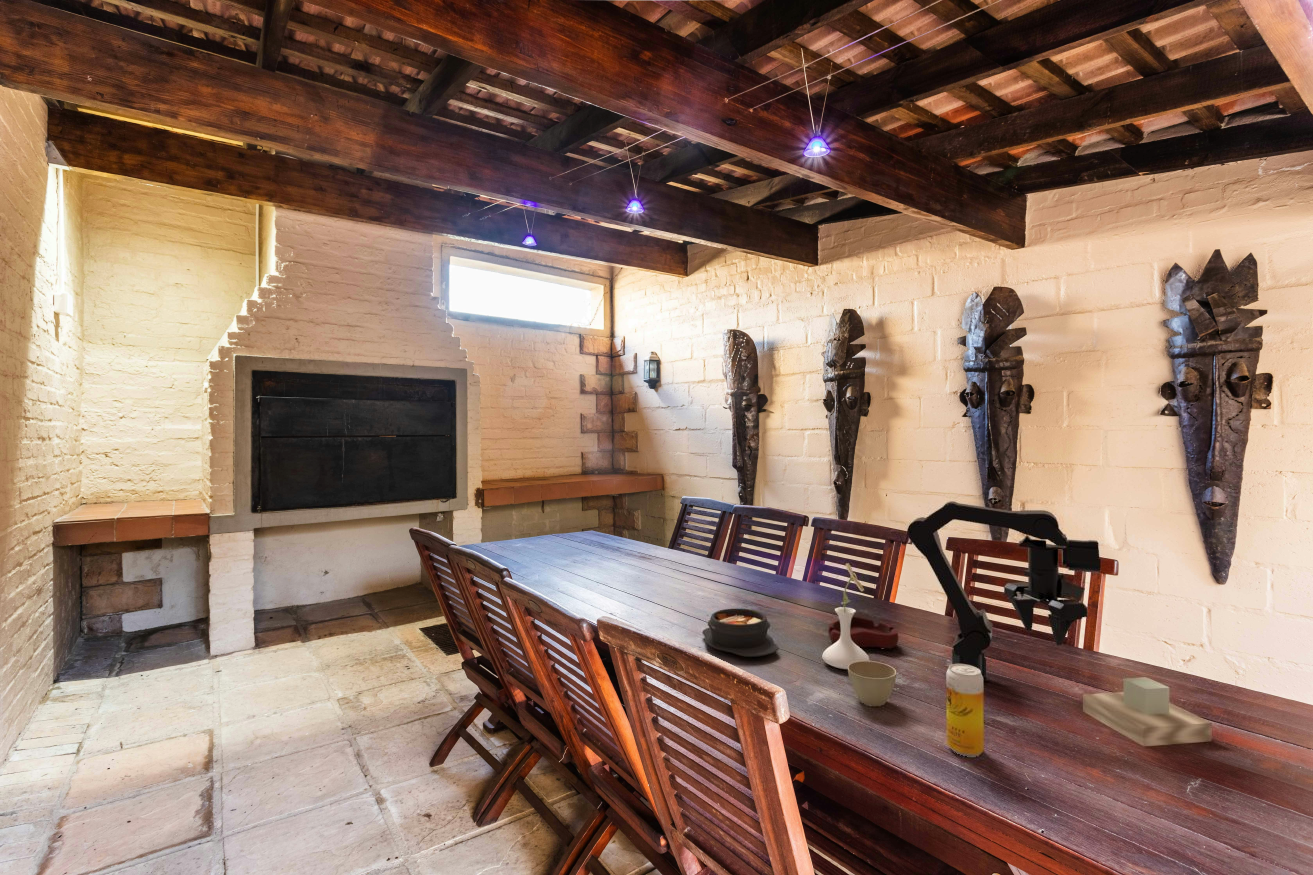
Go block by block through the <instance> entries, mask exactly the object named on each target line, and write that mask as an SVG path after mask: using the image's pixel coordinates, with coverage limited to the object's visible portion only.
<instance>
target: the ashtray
mask: <svg viewBox="0 0 1313 875" xmlns="http://www.w3.org/2000/svg"><path fill="white" fill-rule="evenodd" d="M827 628H828V630H827V632H828V637H829V640H830V641H831V642H832V643H833V644H834V643H836V642H837V641H838V640H839V639H840V636H841V625H840V619H839V620H836V621H833V622H830V623H828V627H827ZM850 636H851V640H852V641H853V642H854V643H855V644H856V645H857V646H858V647H865V648H864V649H867V648H866V647H871V648H879V647H880V648H884V649H890V648H891V649H892V648H895V647H896V646H897V644H898V642H899V632H898V631H897V630H896V629H895V628H894V627H893V626H892V625H891V624H889V623H885V622H881V621H880V622H878V624H875V623H874V621H873V619H869V618H865V617H860V616H854V615H853V616H852V619H851V624H850ZM880 648H879V649H880ZM891 649H890V650H891Z"/></svg>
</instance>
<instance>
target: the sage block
mask: <svg viewBox="0 0 1313 875" xmlns="http://www.w3.org/2000/svg"><path fill="white" fill-rule="evenodd" d="M1122 681H1123V683H1122V685H1123V689H1122V690H1123V691H1122V692H1123V703H1124V704H1126V705H1128V706H1130V707H1132V708H1134V709H1135V710H1137V711H1139V712H1141V713H1143V714H1145V715H1152V714H1165V713H1169V703H1170V686H1167V685H1165V684H1162V683H1160V682H1158V681H1156V680H1153V679H1151V678H1149V677H1146V676H1144V677H1143V676H1141V677H1127V678H1123V679H1122Z"/></svg>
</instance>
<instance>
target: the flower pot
mask: <svg viewBox="0 0 1313 875" xmlns="http://www.w3.org/2000/svg"><path fill="white" fill-rule="evenodd" d="M847 672H848V673H847V674H848V677H849V680H850V681H849V682H850V684H851V686H852V688H853V691H854V693H855V695H856V696H857V698H858V700H859V701H860V702H861V703H862V704H863V703H864V704H863V705H865V704H867V705H866V706H868V705H871V706H870V707H872V706H879V707H882V706H881V705H883V706H884V705H885V704H886V703H887V701H888V700H889V698H890V696H891V695H892V693H893V691H894V687H895V684H896V678H897V670H896V668H894V667H893V666H891V665H889V664H886V663H883V662H880V661H875V660H874V661H873V660H870V661H857V662H853V663H851V664H849V665H848V669H847Z"/></svg>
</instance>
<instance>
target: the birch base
mask: <svg viewBox="0 0 1313 875" xmlns="http://www.w3.org/2000/svg"><path fill="white" fill-rule="evenodd" d="M1082 713H1085V714H1086V715H1088V716H1090V717H1092V718H1093V719H1095V720H1097V721H1099V722H1101V723H1103V725H1106V726H1107V727H1109V728H1111V729H1113V730H1114V731H1117V732H1118V733H1120V734H1122V735H1123V736H1125V737H1126V738H1128V739H1130V740H1132V741H1133V742H1135V743H1137V744H1138V745H1140V746H1142V747H1151V746H1152V747H1154V746H1168V745H1179V744H1192V743H1204V742H1205V743H1206V742H1212V738H1213V736H1212V728H1213V726H1212V725H1213V724H1212V722H1211V721H1208V720H1207V719H1205V718H1202V717H1201V716H1199V715H1197V714H1195V713H1192V712H1190V711H1189V710H1188V711H1187V710H1185V709H1184V708H1182V707H1180V706H1177V705H1175V704H1174V703H1171V702H1169V713H1165V714H1152V715H1145V714H1143V713H1141V712H1139V711H1137V710H1135V709H1134V708H1132V707H1130V706H1128V705H1126V704H1124V703H1123V691H1119V692H1118V691H1117V692H1101V693H1088V694H1087V693H1086V694H1082Z"/></svg>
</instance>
